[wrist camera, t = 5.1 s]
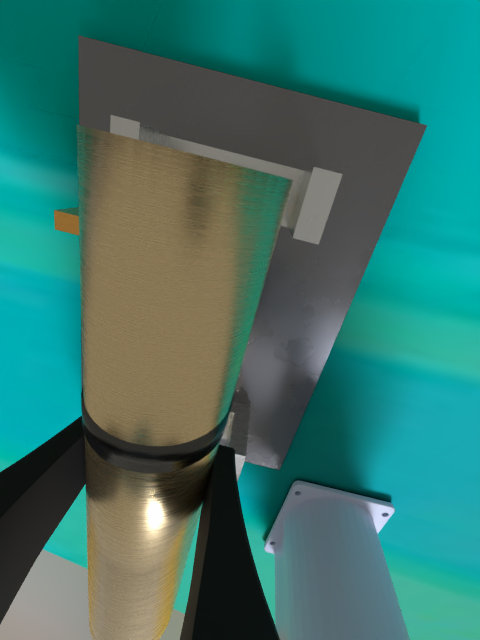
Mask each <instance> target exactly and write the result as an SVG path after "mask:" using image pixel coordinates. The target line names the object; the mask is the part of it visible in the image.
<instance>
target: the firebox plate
mask: <svg viewBox="0 0 480 640" xmlns="http://www.w3.org/2000/svg"><path fill="white" fill-rule="evenodd" d="M79 125H81V126H85V127H89V128H93V129H97V130H101V131H105V132H109V133H113V134H117V135H121V136H125V137H129V138H133V139H137V140H141V141H145V142H149V143H153V144H157V145H161V146H165V147H168V148H172V149H176V150H180V151H184V152H188V153H192V154H196V155H200V156H204V157H207V158H211V159H215V160H219V161H223V162H227V163H231V164H234V165H238V166H242V167H246V168H250V169H254V170H257V171H261V172H265V173H269V174H273V175H276V176H280V177H284V178H288V179H291V180H293V183H292V186H291V190H290V193H289V197H288V201H287V204H286V208H285V211H284V215H283V218H282V222H281V226H280V229H279V233H278V236H277V240H276V243H275V247H274V251H273V254H272V258H271V261H270V265H269V268H268V272H267V276H266V279H265V283H264V286H263V290H262V293H261V297H260V301H259V304H258V308H257V311H256V315H255V318H254V322H253V326H252V329H251V333H250V336H249V340H248V343H247V347H246V351H245V354H244V358H243V361H242V365H241V368H240V372H239V376H238V379H237V383H236V386H235V390H234V393H233V400H232V406H231V410H230V414H229V417H228V421H227V424H226V428H225V431H224V434H223V436H222V438H221V440H220V443H219V445H224V446H228V447H232V448H234V450H235V465H236V476H237V481H238V478H239V476H240V473H241V470H242V467H243V464H244V461H245V462H249V463H253V464H257V465H261V466H265V467H269V468H273V469H277V470H280V468H281V466H282V464H283V461H284V459H285V456H286V454H287V452H288V449H289V447H290V445H291V442H292V440H293V438H294V435H295V433H296V431H297V428H298V426H299V424H300V421H301V419H302V417H303V414H304V412H305V410H306V407H307V405H308V403H309V400H310V398H311V396H312V393H313V391H314V389H315V386H316V384H317V382H318V379H319V377H320V375H321V372H322V370H323V368H324V365H325V363H326V361H327V358H328V356H329V354H330V351H331V349H332V347H333V344H334V342H335V340H336V337H337V335H338V333H339V330H340V328H341V326H342V323H343V321H344V319H345V316H346V314H347V311H348V309H349V307H350V304H351V302H352V300H353V297H354V295H355V293H356V290H357V288H358V286H359V283H360V281H361V279H362V276H363V274H364V272H365V269H366V267H367V265H368V262H369V260H370V258H371V255H372V253H373V251H374V248H375V246H376V244H377V241H378V239H379V237H380V234H381V232H382V230H383V227H384V225H385V223H386V220H387V218H388V216H389V213H390V211H391V209H392V206H393V204H394V202H395V199H396V197H397V195H398V192H399V190H400V188H401V185H402V183H403V181H404V178H405V176H406V174H407V171H408V169H409V167H410V164H411V162H412V159H413V157H414V155H415V152H416V150H417V148H418V145H419V143H420V141H421V138H422V136H423V134H424V131H425V129H426V127H427V125H423V124H419V123H415V122H412V121H408V120H404V119H400V118H396V117H392V116H388V115H385V114H381V113H377V112H373V111H369V110H365V109H361V108H357V107H354V106H350V105H346V104H342V103H338V102H334V101H330V100H326V99H323V98H319V97H315V96H311V95H307V94H303V93H299V92H295V91H292V90H288V89H284V88H280V87H276V86H272V85H268V84H264V83H261V82H257V81H253V80H249V79H245V78H241V77H237V76H233V75H230V74H226V73H222V72H218V71H214V70H210V69H206V68H203V67H199V66H195V65H191V64H187V63H183V62H179V61H175V60H172V59H168V58H164V57H160V56H156V55H152V54H148V53H144V52H141V51H137V50H133V49H129V48H125V47H121V46H117V45H113V44H110V43H106V42H102V41H98V40H94V39H90V38H86V37H82V36H79ZM54 217H55V229H56V230H60V231H64V232H68V233H72V234H76V235H79V207H76V208H68V209H59V210H54ZM81 352H82V318H81ZM82 388H83V357H82Z"/></svg>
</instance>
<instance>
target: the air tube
mask: <svg viewBox="0 0 480 640" xmlns="http://www.w3.org/2000/svg"><path fill="white" fill-rule="evenodd" d="M77 161H78V200H79V240H80V279H81V318H82V357H83V388H82V393H81V398H82V427H83V432H84V436H85V475H86V514H87V553H88V592H89V626H90V632H91V635H92V639H93V640H159V639H160V637H161V636H162V634H163V633H164V631H165V629H166V627H167V625H168V623H169V620H170V617H171V614H172V611H173V608H174V604H175V600H176V597H177V593H178V590H179V586H180V583H181V579H182V575H183V572H184V568H185V565H186V561H187V558H188V554H189V551H190V547H191V543H192V540H193V536H194V533H195V529H196V526H197V522H198V518H199V515H200V511H201V508H202V503H203V500H204V496H205V492H206V489H207V485H208V482H209V478H210V474H211V471H212V467H213V464H214V460H215V457H216V454H217V451H218V447H219V443H220V440H221V438H222V436H223V434H224V431H225V428H226V424H227V421H228V417H229V414H230V410H231V406H232V400H233V393H234V390H235V386H236V383H237V379H238V376H239V372H240V368H241V365H242V361H243V358H244V354H245V351H246V347H247V343H248V340H249V336H250V333H251V329H252V326H253V322H254V318H255V315H256V311H257V308H258V304H259V301H260V297H261V293H262V290H263V286H264V283H265V279H266V276H267V272H268V268H269V265H270V261H271V258H272V254H273V251H274V247H275V243H276V240H277V236H278V233H279V229H280V226H281V222H282V218H283V215H284V211H285V208H286V204H287V201H288V197H289V193H290V190H291V186H292V183H293V180H291V179H288V178H284V177H280V176H276V175H273V174H269V173H265V172H261V171H257V170H254V169H250V168H246V167H242V166H238V165H234V164H231V163H227V162H223V161H219V160H215V159H211V158H207V157H204V156H200V155H196V154H192V153H188V152H184V151H180V150H176V149H172V148H168V147H165V146H161V145H157V144H153V143H149V142H145V141H141V140H137V139H133V138H129V137H125V136H121V135H117V134H113V133H109V132H105V131H101V130H97V129H93V128H89V127H85V126H81V125H77Z"/></svg>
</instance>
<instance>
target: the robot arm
mask: <svg viewBox="0 0 480 640" xmlns="http://www.w3.org/2000/svg"><path fill="white" fill-rule="evenodd" d="M85 484H86V475H85V436H84V432H83V427H82V416H81V417H79V418H78V419H77V420H75V421H74V422H73V423H71V424H70V425H69V426H67V427H66V428H64V429H63V430H62V431H60V432H59V433H58V434H56V435H55V436H54V437H52V438H51V439H49V440H48V441H46V442H45V443H44V444H42V445H41V446H39V447H38V448H36V449H35V450H34V451H32V452H31V453H29V454H28V455H26V456H25V457H23V458H22V459H20V460H19V461H17V462H16V463H14V464H12V465H11V466H9V467H8V468H6V469H5V470H3V471H2V472H0V624H1V622H2V620H3V618H4V616H5V614H6V613H7V611H8V609H9V607H10V605H11V603H12V601H13V600H14V598H15V596H16V594H17V592H18V591H19V589H20V587H21V585H22V583H23V582H24V580H25V578H26V576H27V574H28V572H29V571H30V569H31V567H32V566H33V564H34V562H35V560H36V558H37V557H38V555H39V554H40V552H41V551H42V549H43V547H44V546H45V544H46V543H47V541H48V540H49V538H50V537H51V535H52V534H53V532H54V531H55V529H56V528H57V526H58V525H59V523H60V521H61V520H62V518H63V517H64V515H65V514H66V512H67V511H68V509H69V508H70V506H71V505H72V503H73V502H74V500H75V499H76V497H77V496H78V494H79V493H80V491H81V490H82V488H83V487H84V485H85ZM394 511H395V509H394V506H393V504H392V503H389V502H386V501H382V500H377V499H373V498H369V497H365V496H361V495H357V494H353V493H349V492H345V491H341V490H337V489H333V488H329V487H324V486H320V485H316V484H312V483H308V482H304V481H299V480H298V481H295V482H294V483H293V484H292V486H291V489H290V491H289V493H288V495H287V497H286V499H285V501H284V503H283V506H282V508H281V510H280V512H279V514H278V516H277V518H276V520H275V523H274V525H273V527H272V529H271V531H270V533H269V535H268V537H267V540H266V542H265V544H264V549H265V551H266V552H269V553H273V554H275V624H274V621H273V618H272V616H271V613H270V610H269V607H268V604H267V602H266V599H265V596H264V593H263V589H262V586H261V583H260V580H259V577H258V574H257V570H256V567H255V563H254V560H253V556H252V552H251V549H250V545H249V541H248V536H247V532H246V528H245V523H244V519H243V514H242V508H241V503H240V497H239V491H238V484H237V476H236V465H235V450H234V448H232V447H228V446H224V445H219V447H218V451H217V454H216V457H215V460H214V464H213V467H212V471H211V474H210V478H209V482H208V485H207V489H206V492H205V496H204V500H203V503H202V508H201V515H200V522H199V529H198V537H197V544H196V551H195V559H194V566H193V573H192V580H191V586H190V592H189V598H188V603H187V608H186V612H185V617H184V622H183V628H182V632H181V636H180V640H410V638H409V635H408V632H407V629H406V625H405V622H404V619H403V616H402V612H401V609H400V606H399V602H398V599H397V596H396V593H395V589H394V586H393V583H392V580H391V576H390V573H389V570H388V567H387V563H386V560H385V557H384V554H383V550H382V547H381V544H380V540H379V537H378V533H379V531H380V530H381V529H382V527H383V526H384V525H385V523H386V522H387V521H388V519H389V518H390V517H391V515H392V514H393V513H394ZM275 626H276V627H275Z"/></svg>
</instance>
